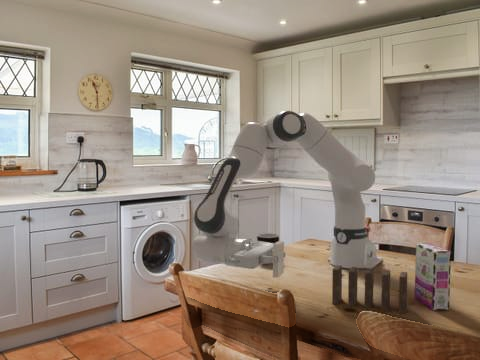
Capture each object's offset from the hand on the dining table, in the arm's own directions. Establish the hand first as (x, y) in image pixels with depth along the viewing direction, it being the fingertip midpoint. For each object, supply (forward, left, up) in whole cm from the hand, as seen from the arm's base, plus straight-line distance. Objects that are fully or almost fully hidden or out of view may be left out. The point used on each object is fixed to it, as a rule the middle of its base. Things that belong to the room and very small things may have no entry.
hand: (281, 257), depth 137 cm
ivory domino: (0, -1, -5) cm, 6 cm away
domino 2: (-7, +20, -11) cm, 24 cm away
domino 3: (-9, +25, -11) cm, 28 cm away
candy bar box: (-22, +37, -11) cm, 44 cm away
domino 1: (-6, +16, -11) cm, 20 cm away
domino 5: (-12, +33, -11) cm, 37 cm away
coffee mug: (-29, -28, -11) cm, 42 cm away
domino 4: (-10, +29, -11) cm, 33 cm away
